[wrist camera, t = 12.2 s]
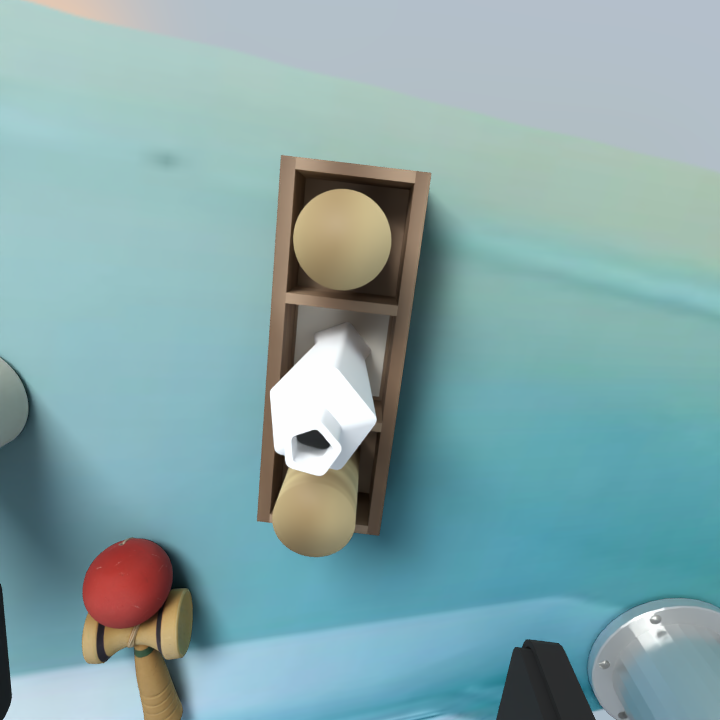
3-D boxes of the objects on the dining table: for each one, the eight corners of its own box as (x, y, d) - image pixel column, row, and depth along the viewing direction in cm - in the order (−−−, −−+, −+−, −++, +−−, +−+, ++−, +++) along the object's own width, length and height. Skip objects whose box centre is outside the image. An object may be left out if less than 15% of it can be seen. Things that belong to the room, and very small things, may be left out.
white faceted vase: (376, 383, 32) (377, 505, 18) (312, 384, 32) (261, 505, 18) (375, 316, 31) (375, 388, 17) (308, 317, 31) (250, 390, 17)
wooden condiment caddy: (422, 182, 30) (444, 158, 20) (378, 494, 36) (379, 591, 26) (296, 167, 30) (258, 136, 20) (273, 482, 36) (234, 574, 26)
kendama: (228, 684, 43) (192, 528, 36) (190, 766, 37) (140, 598, 30) (151, 669, 44) (103, 516, 37) (104, 745, 39) (37, 581, 32)
